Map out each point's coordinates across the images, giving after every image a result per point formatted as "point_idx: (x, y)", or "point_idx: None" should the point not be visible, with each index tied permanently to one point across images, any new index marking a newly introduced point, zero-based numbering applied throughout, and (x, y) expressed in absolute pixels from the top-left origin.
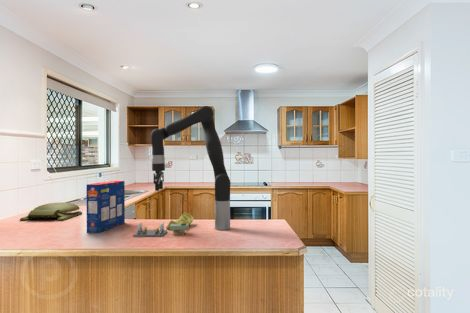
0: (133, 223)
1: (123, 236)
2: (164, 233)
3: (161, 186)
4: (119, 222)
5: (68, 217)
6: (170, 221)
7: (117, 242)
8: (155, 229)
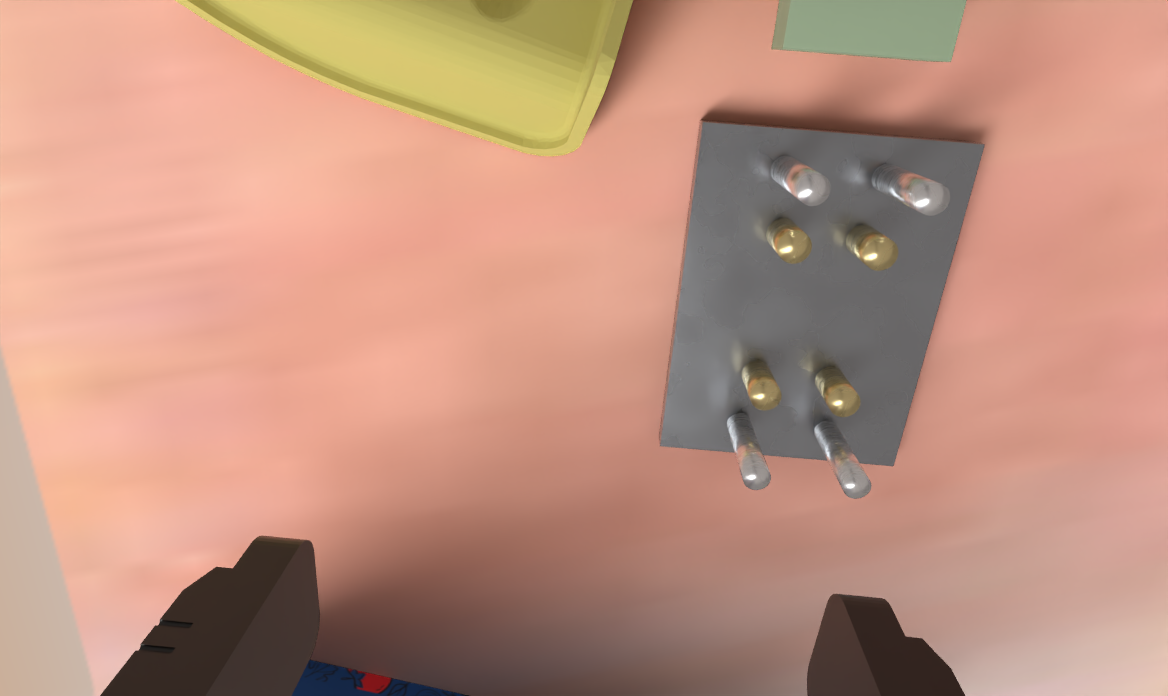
0: None
1: (846, 542)
2: (861, 133)
3: (268, 644)
4: (335, 689)
5: None
6: (603, 92)
7: (1074, 542)
8: (895, 258)
